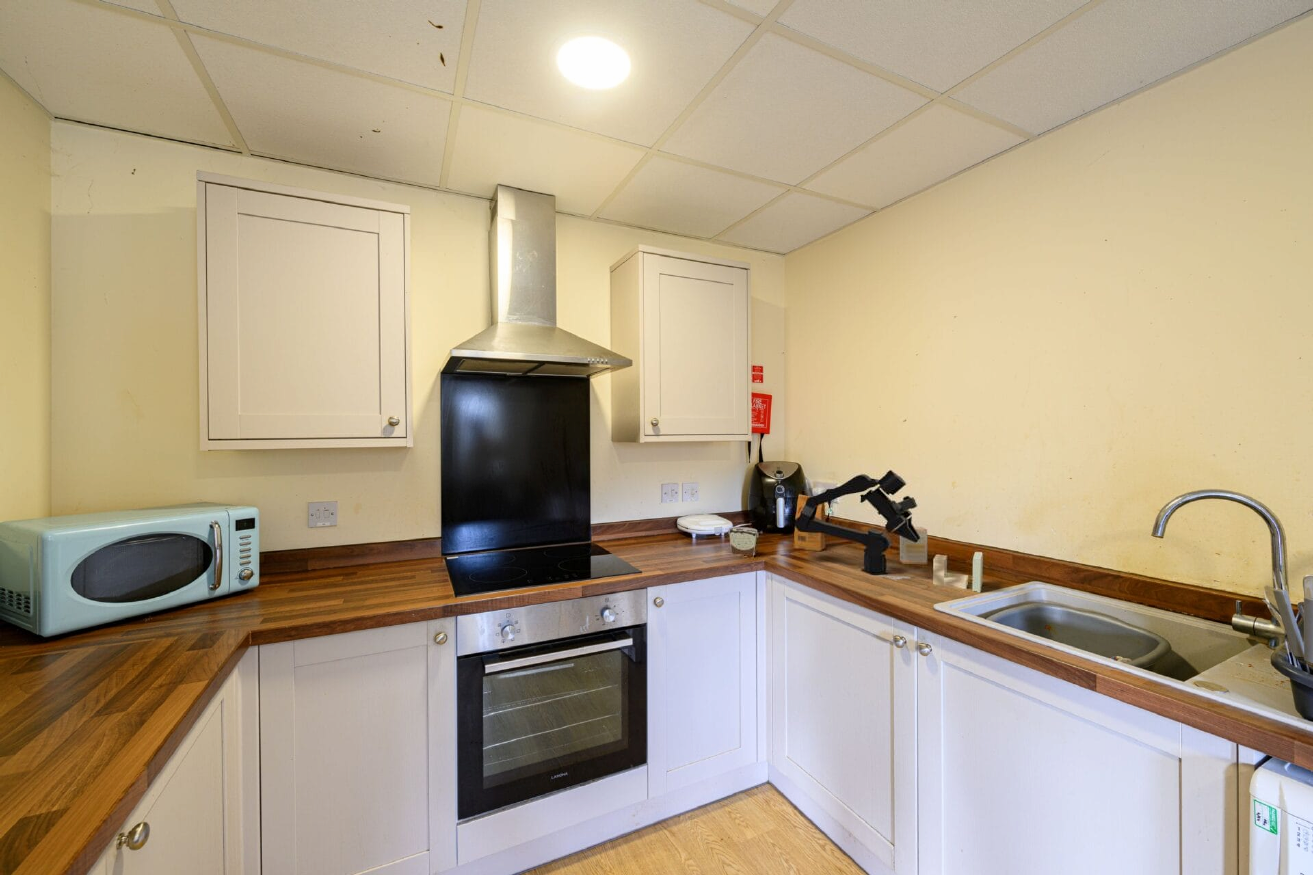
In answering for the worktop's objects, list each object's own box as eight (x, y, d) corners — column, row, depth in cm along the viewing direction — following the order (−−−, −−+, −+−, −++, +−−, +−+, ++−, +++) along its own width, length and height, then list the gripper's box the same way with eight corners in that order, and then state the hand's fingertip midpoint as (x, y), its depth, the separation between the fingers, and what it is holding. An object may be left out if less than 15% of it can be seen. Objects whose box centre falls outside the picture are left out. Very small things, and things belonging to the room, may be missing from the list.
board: (972, 591, 160) (972, 558, 160) (974, 582, 169) (975, 551, 169) (980, 592, 159) (980, 559, 158) (982, 583, 168) (982, 552, 167)
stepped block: (933, 584, 167) (933, 559, 167) (936, 578, 174) (936, 554, 173) (966, 589, 162) (966, 563, 162) (968, 583, 169) (968, 558, 168)
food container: (763, 554, 205) (763, 529, 205) (757, 557, 200) (757, 531, 200) (734, 550, 212) (734, 525, 212) (727, 553, 207) (727, 528, 207)
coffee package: (799, 544, 225) (799, 492, 224) (828, 548, 217) (828, 495, 217) (790, 548, 216) (790, 495, 216) (820, 552, 209) (821, 497, 209)
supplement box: (922, 561, 196) (922, 526, 195) (927, 565, 191) (927, 529, 191) (898, 561, 196) (899, 526, 196) (903, 564, 192) (904, 528, 191)
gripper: (896, 491, 168) (934, 529, 162) (905, 486, 184) (941, 520, 178) (870, 513, 173) (906, 551, 167) (881, 506, 188) (914, 541, 182)
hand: (918, 540), depth 173 cm, fingers open, 5 cm apart
